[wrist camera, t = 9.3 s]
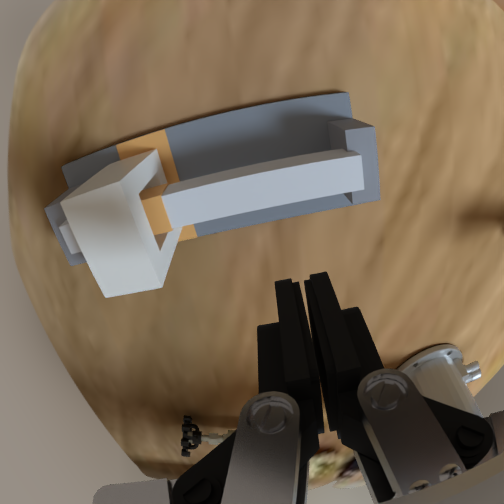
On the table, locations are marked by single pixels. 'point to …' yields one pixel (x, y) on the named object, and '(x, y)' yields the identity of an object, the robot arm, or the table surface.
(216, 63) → the table surface
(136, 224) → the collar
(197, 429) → the valve
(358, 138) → the rail
